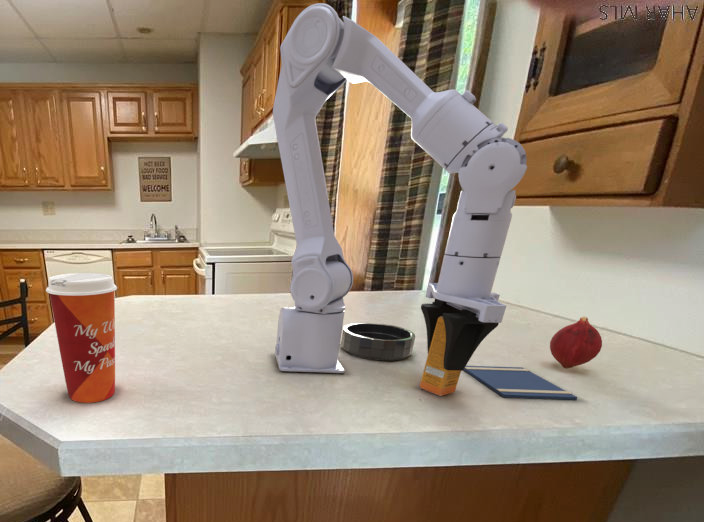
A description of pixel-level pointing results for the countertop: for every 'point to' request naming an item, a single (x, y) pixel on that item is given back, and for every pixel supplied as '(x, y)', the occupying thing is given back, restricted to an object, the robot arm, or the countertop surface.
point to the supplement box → (438, 365)
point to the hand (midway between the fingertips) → (444, 363)
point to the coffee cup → (85, 333)
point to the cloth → (517, 383)
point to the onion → (576, 344)
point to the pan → (377, 341)
